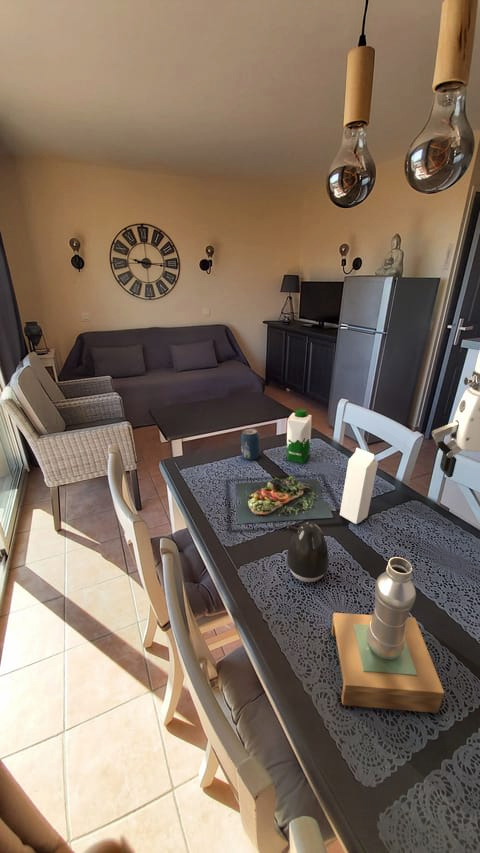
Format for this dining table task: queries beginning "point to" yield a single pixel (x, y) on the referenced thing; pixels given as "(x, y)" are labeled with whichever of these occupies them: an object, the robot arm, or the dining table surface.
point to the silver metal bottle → (391, 609)
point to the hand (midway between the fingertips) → (474, 474)
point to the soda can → (250, 444)
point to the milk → (358, 486)
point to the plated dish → (280, 501)
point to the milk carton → (298, 436)
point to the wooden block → (385, 669)
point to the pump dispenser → (307, 552)
